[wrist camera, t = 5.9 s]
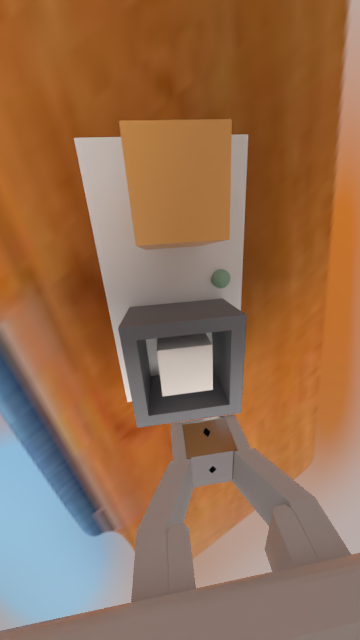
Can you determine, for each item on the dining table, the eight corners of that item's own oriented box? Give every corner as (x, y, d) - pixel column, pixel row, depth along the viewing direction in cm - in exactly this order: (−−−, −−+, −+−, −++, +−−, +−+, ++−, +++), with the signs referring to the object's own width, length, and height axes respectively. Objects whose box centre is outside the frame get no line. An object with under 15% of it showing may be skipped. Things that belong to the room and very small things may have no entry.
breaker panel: (79, 146, 13) (22, 66, 8) (242, 142, 14) (296, 68, 9) (128, 395, 21) (117, 447, 15) (234, 381, 22) (260, 426, 16)
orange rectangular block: (137, 185, 14) (118, 120, 7) (197, 182, 14) (231, 119, 7) (145, 249, 15) (135, 245, 9) (199, 246, 15) (229, 239, 9)
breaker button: (157, 331, 16) (156, 350, 13) (201, 327, 17) (212, 344, 14) (161, 370, 18) (162, 396, 15) (203, 365, 18) (212, 389, 15)
